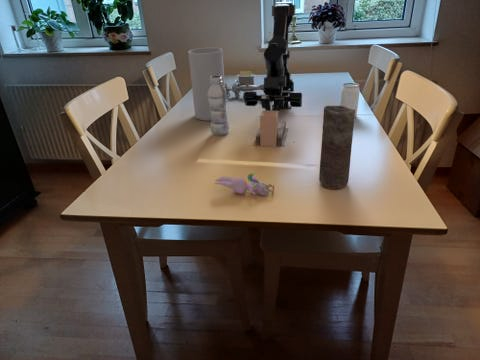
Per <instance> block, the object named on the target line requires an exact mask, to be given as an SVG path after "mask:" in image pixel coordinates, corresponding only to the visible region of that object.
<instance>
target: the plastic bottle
mask: <svg viewBox="0 0 480 360" xmlns="http://www.w3.org/2000/svg"><path fill="white" fill-rule="evenodd" d="M210 82H211V86H210V88H209V90H208V99H209V103H210V109H211V121H210V125H209V127H210V132H211V134H212V136H217V137H221V136H226V135H228V134H229V131H230V126H229V125H230V124H229V121H228V116H227V92H226V89H225V88H224V86H223V85H222V84H221V83H222V77H221V76H211V81H210Z"/></svg>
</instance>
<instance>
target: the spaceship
mask: <svg viewBox="0 0 480 360" xmlns="http://www.w3.org/2000/svg"><path fill="white" fill-rule="evenodd" d="M224 83H225V89H226V92H227V96H231V93H230V91H231V92H233V93H234V96H235V97H236V99H238V98H240V96H241V92H243V93H244V92H245V91H263V89H264V88H263V87H264V83H263V84H258V85H256V84H240V83H239V79H235V81H234V82H233V85H232V86H229V84H230V83H229V82H228V83H227V82H224Z"/></svg>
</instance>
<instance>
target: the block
mask: <svg viewBox="0 0 480 360" xmlns="http://www.w3.org/2000/svg"><path fill="white" fill-rule="evenodd" d="M259 128H260V146H259V147H272V148H273V147H275V148H276V146H277V137H278V128H279V112H278V111H272V110H271V111H268V110H265V109H264V110H262V111H261V113H260V115H259Z"/></svg>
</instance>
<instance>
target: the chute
mask: <svg viewBox="0 0 480 360" xmlns="http://www.w3.org/2000/svg"><path fill="white" fill-rule="evenodd" d="M286 125H287V120H286V119H282V120H281V124H280V127H278V137H277V146H276V147H279V148H281V147H282V148H285V145H286V143H287V142H286V141H287V137H288V132H289V128H288V127H287V126H286ZM286 127H287V128H286ZM252 146H254V147H255V146H259V147H261V146H260V127H259V128H258V130H257V133H256V135H255V139H254V142H253V144H252ZM276 147H275V148H276Z"/></svg>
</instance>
